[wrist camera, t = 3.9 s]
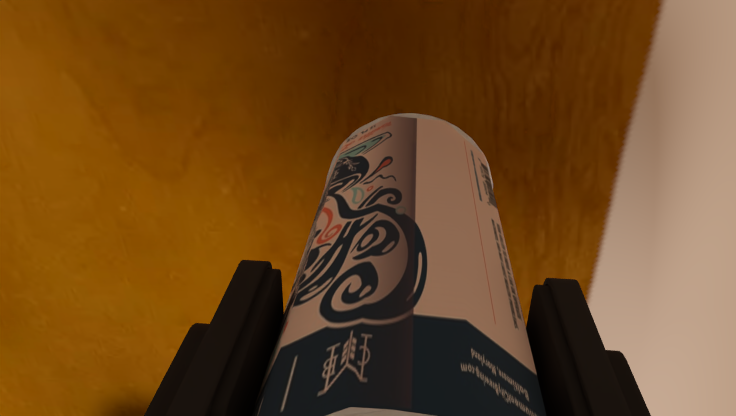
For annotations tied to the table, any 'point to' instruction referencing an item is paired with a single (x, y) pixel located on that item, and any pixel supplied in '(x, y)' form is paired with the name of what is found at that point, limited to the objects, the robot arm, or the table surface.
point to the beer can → (404, 288)
